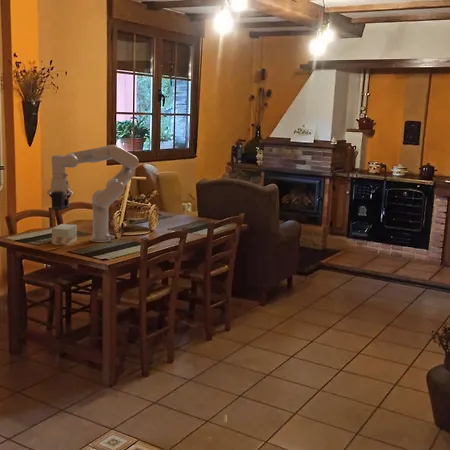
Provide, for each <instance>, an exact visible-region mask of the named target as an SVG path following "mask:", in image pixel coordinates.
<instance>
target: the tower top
mask: <svg viewBox="0 0 450 450" xmlns="http://www.w3.org/2000/svg"><path fill="white" fill-rule="evenodd" d="M76 233H77V234H78V225H77V224H67V223H60V224H58V225H56V226H54V227H52V228H51V238H52V237H64V238H69V237H70V236H72V235H74V234H76Z"/></svg>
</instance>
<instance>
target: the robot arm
mask: <svg viewBox="0 0 450 450" xmlns="http://www.w3.org/2000/svg"><path fill="white" fill-rule="evenodd" d="M109 160H114V161H116V162H117V163H119V164H121V165H122V167H121V169H120V170H119V171H118V172H117V173H116V174H115V175H114V176H113V177H112V178H111V179H109V180H108V181H107V182H106V183H105V184H106V185H105V188H104V189H103V190H102V189H97V190H96V191H95V192H94V193H93V194H92V197H91V203H92V204H91V205H92V236H91V237H90V239H89V240H90V241H91V242H93V243H107V242H111V241H112V240H111V239H115V237H116V236H115V235H114V234H110V232H109V206H111V205H112V204H113V203H114V202H115V201H116V200H117V199H119V198H120V197H121V195H122V194H123V193H124V191H125V187H126V186H127V184H128V183H129V182H130V181H131V180H132V179H133V177H134V176H135V173H136V169H137V168H138V166H139V164H140V161H139V158H138V157H137V156H136V155H134V154H132V153H130V152H129V151H127V150H126V149H123V148H122V147H121V146H119V145H117V144H108V145H104V146H100V147H94V148H89V149H85V150H78V151H73V152H70V153H66V155H62V154H55V155H52V156H51V173H52V178H51V180H50V181H51V182H50V189H49V190H48V191H47V192H46V194H47V195H48V196H49V197H50V198H51V199H52V197H51V193H53V192H61V193H63V195H64V197H65V206H67V205H68V199H70V198H71V197H72V195H73V194H74V192H73V191H72V190H71V189H70V187H69V181H68V176H69V175H68V174H67V173H66V168H71V169H72V168H76V167H78V165H79V164H84V163H93V164H95V163H100V162H104V161H109ZM67 194H68V195H67Z"/></svg>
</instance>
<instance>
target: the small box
mask: <svg viewBox="0 0 450 450" xmlns="http://www.w3.org/2000/svg"><path fill="white" fill-rule="evenodd" d="M67 195H69V194H67ZM51 197H52V198H51ZM51 197H50V198H51V210H52V211H63V210H65V209H69V208H70V204H69V202H70V200H69V199H70V198H69V199H68V205H67V206H65V197H64V195H63V193H61V192H53V193H51Z"/></svg>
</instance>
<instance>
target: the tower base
mask: <svg viewBox="0 0 450 450" xmlns="http://www.w3.org/2000/svg"><path fill="white" fill-rule="evenodd" d="M77 234H78V232H77V233H76V234H74V235H72V236H70V237H69V238H64V237H52V236H51V244H52V245H56V246H57V245H58V246H69V245H71V244H73V243H74V242H77V240H78V235H77Z"/></svg>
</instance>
